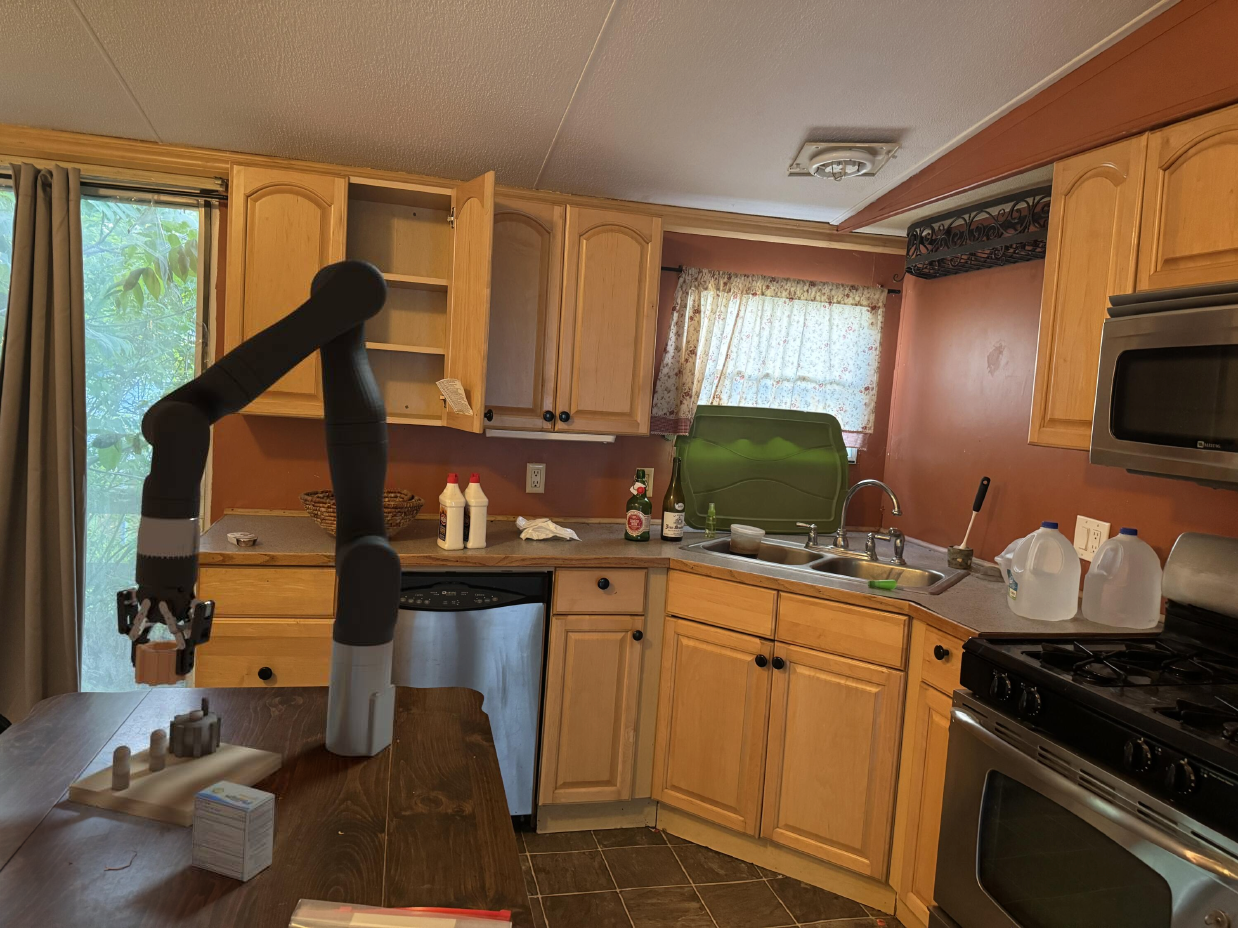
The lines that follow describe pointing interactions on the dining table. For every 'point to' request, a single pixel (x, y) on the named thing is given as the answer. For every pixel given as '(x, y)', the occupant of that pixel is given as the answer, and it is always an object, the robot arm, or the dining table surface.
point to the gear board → (174, 770)
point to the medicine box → (233, 830)
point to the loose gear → (157, 663)
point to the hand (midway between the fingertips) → (161, 669)
